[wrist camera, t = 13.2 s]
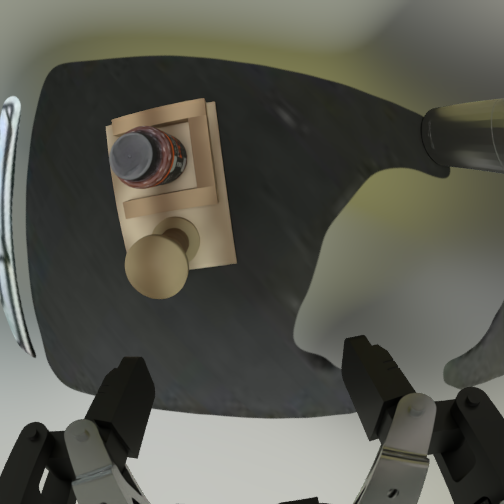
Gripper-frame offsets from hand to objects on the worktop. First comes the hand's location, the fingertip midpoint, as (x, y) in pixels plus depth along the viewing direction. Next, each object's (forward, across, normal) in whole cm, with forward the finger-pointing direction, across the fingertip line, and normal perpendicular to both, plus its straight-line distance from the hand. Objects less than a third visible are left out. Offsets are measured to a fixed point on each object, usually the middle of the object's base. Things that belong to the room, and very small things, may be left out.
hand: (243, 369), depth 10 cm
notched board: (+26, +8, -5) cm, 27 cm away
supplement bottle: (+25, +8, -9) cm, 28 cm away
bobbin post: (+25, +8, +1) cm, 26 cm away
